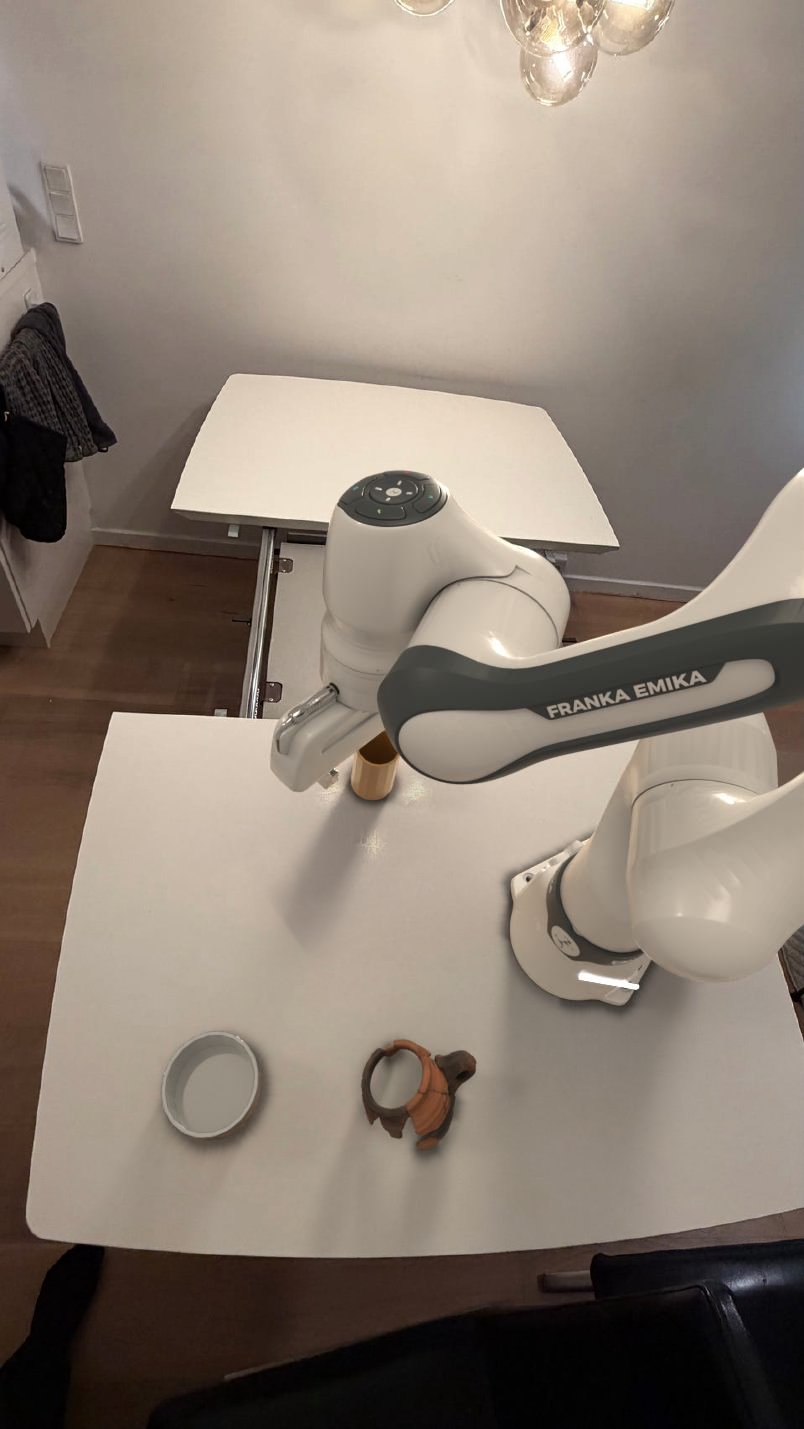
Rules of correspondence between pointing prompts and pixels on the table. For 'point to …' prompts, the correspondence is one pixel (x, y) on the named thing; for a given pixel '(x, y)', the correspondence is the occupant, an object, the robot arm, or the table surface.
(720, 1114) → the table surface
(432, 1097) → the pottery mug
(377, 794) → the tan hollow cylinder
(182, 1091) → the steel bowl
